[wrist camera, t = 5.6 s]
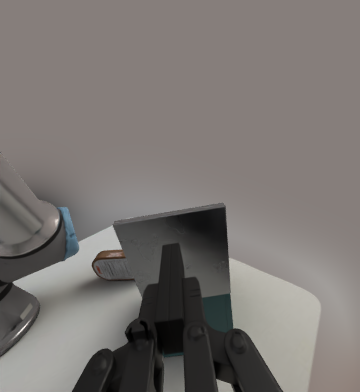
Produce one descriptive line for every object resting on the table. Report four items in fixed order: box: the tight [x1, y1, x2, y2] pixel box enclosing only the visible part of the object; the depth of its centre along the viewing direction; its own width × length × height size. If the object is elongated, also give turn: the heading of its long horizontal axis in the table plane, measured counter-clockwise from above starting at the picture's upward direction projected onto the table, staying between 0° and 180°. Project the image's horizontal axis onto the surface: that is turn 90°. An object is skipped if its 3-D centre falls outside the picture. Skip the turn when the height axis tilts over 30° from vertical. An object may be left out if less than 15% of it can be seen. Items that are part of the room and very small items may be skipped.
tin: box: [92, 250, 135, 280], centre depth 43 cm, size 15×3×8 cm, turn 83°
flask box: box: [163, 293, 233, 358], centre depth 31 cm, size 13×12×12 cm
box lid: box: [113, 203, 231, 298], centre depth 20 cm, size 13×12×1 cm
